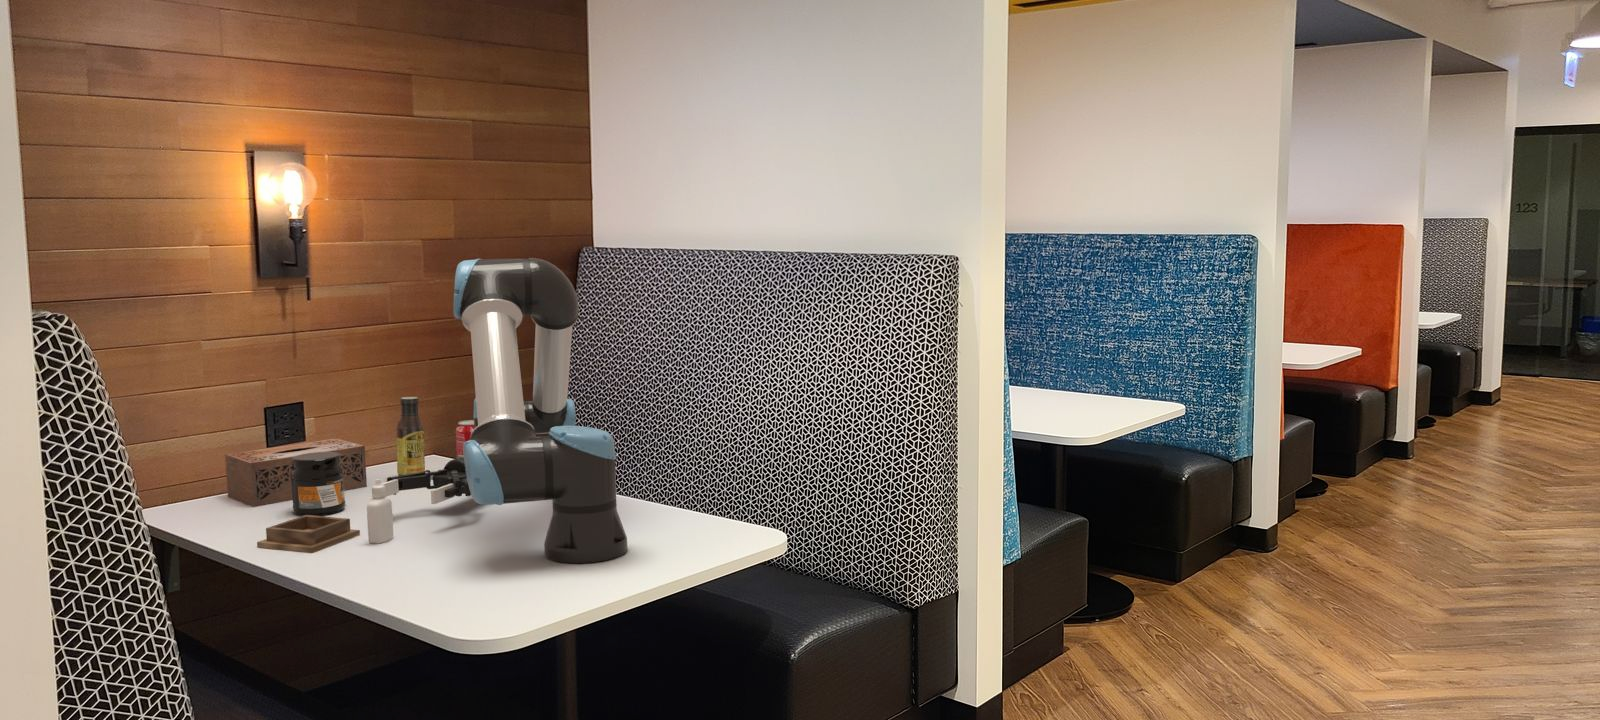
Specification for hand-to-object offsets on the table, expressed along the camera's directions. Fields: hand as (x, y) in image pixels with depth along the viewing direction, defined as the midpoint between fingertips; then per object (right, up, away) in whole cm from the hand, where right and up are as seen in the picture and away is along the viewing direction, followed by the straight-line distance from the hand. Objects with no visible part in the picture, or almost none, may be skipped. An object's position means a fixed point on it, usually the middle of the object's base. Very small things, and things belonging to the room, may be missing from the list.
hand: (403, 495), depth 234 cm
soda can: (-2, -1, +57) cm, 58 cm away
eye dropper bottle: (-2, -8, -7) cm, 11 cm away
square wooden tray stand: (-16, -8, -7) cm, 19 cm away
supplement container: (-24, -6, +17) cm, 30 cm away
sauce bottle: (-14, -2, +46) cm, 49 cm away
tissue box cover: (-36, -4, +36) cm, 51 cm away
